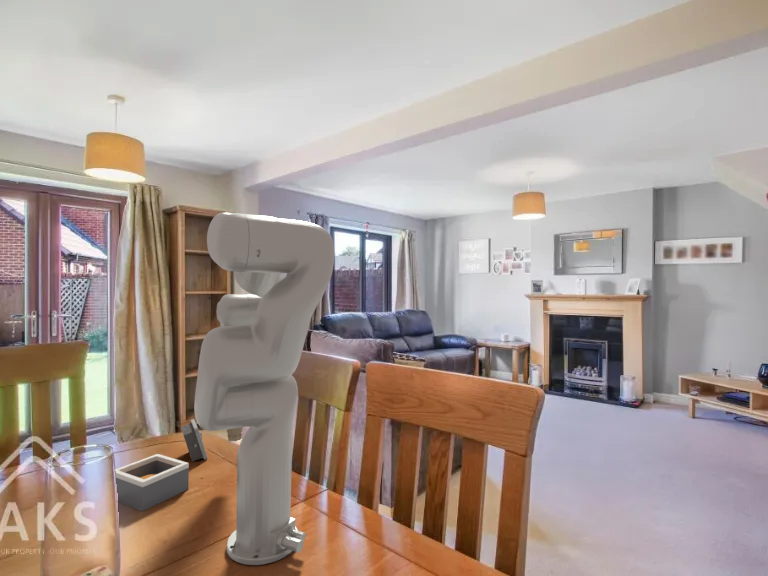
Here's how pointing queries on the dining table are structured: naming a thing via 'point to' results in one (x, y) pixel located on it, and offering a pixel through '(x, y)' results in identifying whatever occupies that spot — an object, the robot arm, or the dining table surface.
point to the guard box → (151, 481)
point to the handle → (234, 434)
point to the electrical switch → (194, 441)
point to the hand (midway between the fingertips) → (235, 420)
